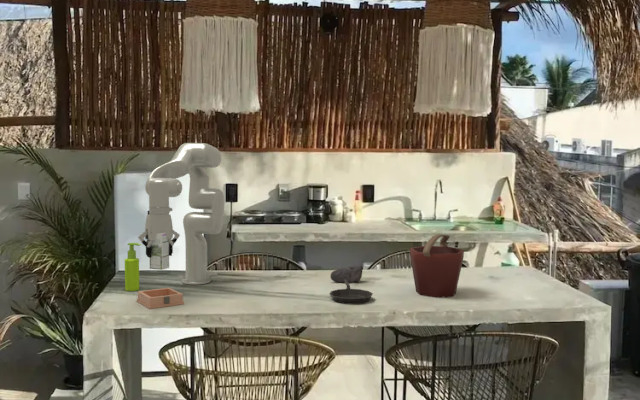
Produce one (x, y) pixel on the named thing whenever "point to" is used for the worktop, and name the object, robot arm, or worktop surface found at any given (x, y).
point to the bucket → (436, 268)
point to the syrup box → (160, 252)
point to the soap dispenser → (132, 269)
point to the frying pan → (350, 295)
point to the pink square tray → (160, 298)
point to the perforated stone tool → (347, 274)
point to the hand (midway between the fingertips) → (159, 255)
